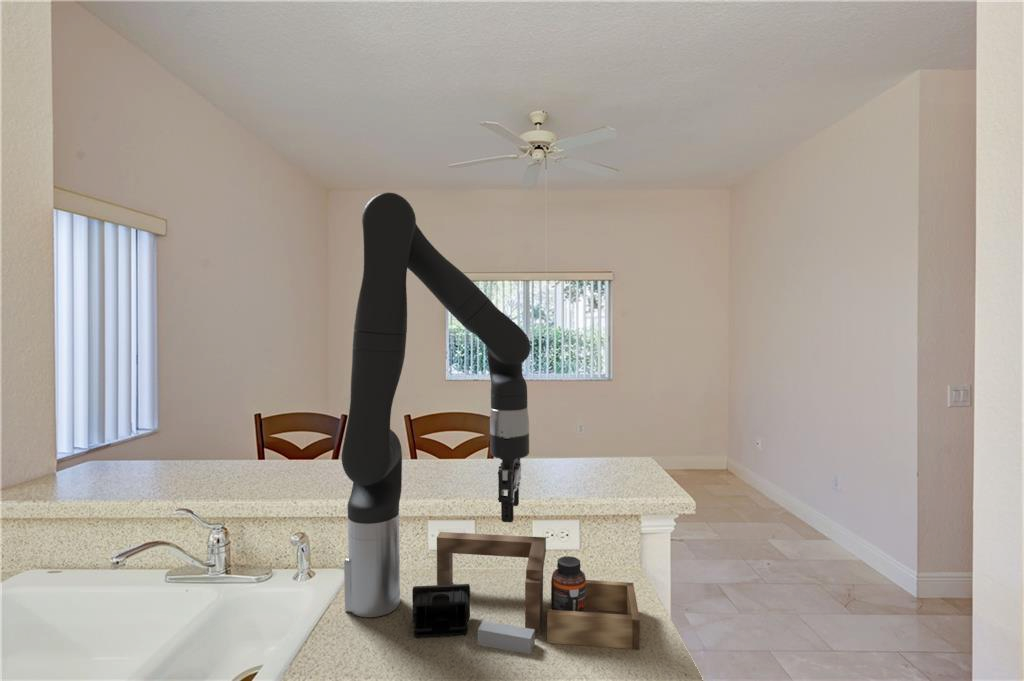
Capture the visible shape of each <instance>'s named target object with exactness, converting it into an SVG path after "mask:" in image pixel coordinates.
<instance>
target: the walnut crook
mask: <svg viewBox="0 0 1024 681" xmlns="http://www.w3.org/2000/svg"><path fill="white" fill-rule="evenodd" d="M546 550H547V538H546V536H545V537H544V536H526V535H525V536H523V535H509V534H508V535H507V534H505V535H504V534H487V533H486V534H485V533H469V532H450V531H439V533H438V535H437V536H436V585H454V581H453V578H454V575H453V574H454V573H453V572H454V571H453V570H454V568H453V567H454V566H453V562H454V561H453V560H454V559H453V557H454V556H453V555H454V554H456V555H457V554H459V555H472V556H473V555H475V556H491V557H492V556H493V557H509V558H510V557H511V558H525V559H526V558H527V559H528V560H527V563H526V568H525V580H524V583H525V585H524V594H525V595H524V628H529V629H535V635H540V634H541V628H542V627H541V626H542V620H543V613H544V567H545V561H546V553H547V551H546Z"/></svg>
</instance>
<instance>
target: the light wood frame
mask: <svg viewBox="0 0 1024 681" xmlns="http://www.w3.org/2000/svg"><path fill="white" fill-rule="evenodd" d="M550 582H551V583H550V584H551V587H550V589H551V590H550V607H551V606H552V604H551V603H552V578H551V580H550ZM585 585H586V594H585V610H588V611H589V610H590V611H591V610H592V611H601V612H590V611H589V612H588V611H585V612H577V611H562V610H551V609H547V615H546V616H547V622H546V624H547V625H546V626H547V627H546V629H547V632H546V633H547V634H546V635H547V636H546V637H547V638H546V640H547V641H546V642H547V643H548V644H549V643H550V644H562V645H575V646H589V647H601V648H615V649H626V650H627V649H628V650H629V649H630V650H640V643H641V642H640V640H641V639H640V638H641V637H640V635H641V633H640V632H641V630H640V629H641V627H640V626H641V617H640V613H639V607H638V601H637V597H636V590H635V584H634V582H626V581H625V582H624V581H608V580H594V579H592V580H591V579H586V583H585ZM602 611H603V613H602ZM604 611H605V612H607V611H608V612H619V613H620V612H621V613H626V614H619V613H618V614H617V613H604Z"/></svg>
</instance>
